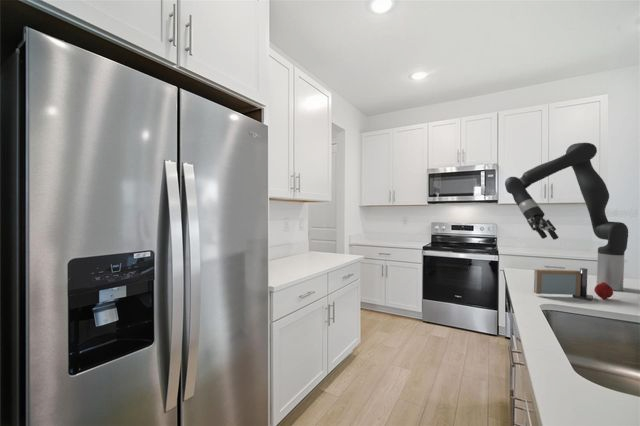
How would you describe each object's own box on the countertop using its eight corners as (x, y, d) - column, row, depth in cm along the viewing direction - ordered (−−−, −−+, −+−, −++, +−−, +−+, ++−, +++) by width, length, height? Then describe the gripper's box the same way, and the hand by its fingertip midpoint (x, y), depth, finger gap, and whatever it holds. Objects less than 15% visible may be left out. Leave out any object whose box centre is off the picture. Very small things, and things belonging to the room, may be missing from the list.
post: (575, 294, 129) (576, 266, 129) (593, 297, 125) (594, 268, 124) (572, 297, 125) (573, 268, 125) (591, 300, 121) (592, 270, 120)
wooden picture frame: (576, 293, 126) (577, 270, 126) (580, 295, 124) (581, 271, 124) (533, 292, 128) (534, 269, 127) (536, 293, 126) (537, 270, 126)
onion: (616, 302, 119) (617, 283, 119) (600, 301, 121) (601, 282, 120) (605, 297, 125) (606, 279, 125) (590, 296, 126) (591, 279, 126)
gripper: (528, 204, 135) (549, 233, 125) (546, 207, 140) (567, 235, 131) (514, 213, 140) (533, 241, 131) (533, 215, 145) (552, 243, 136)
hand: (550, 238), depth 131 cm, fingers open, 8 cm apart
